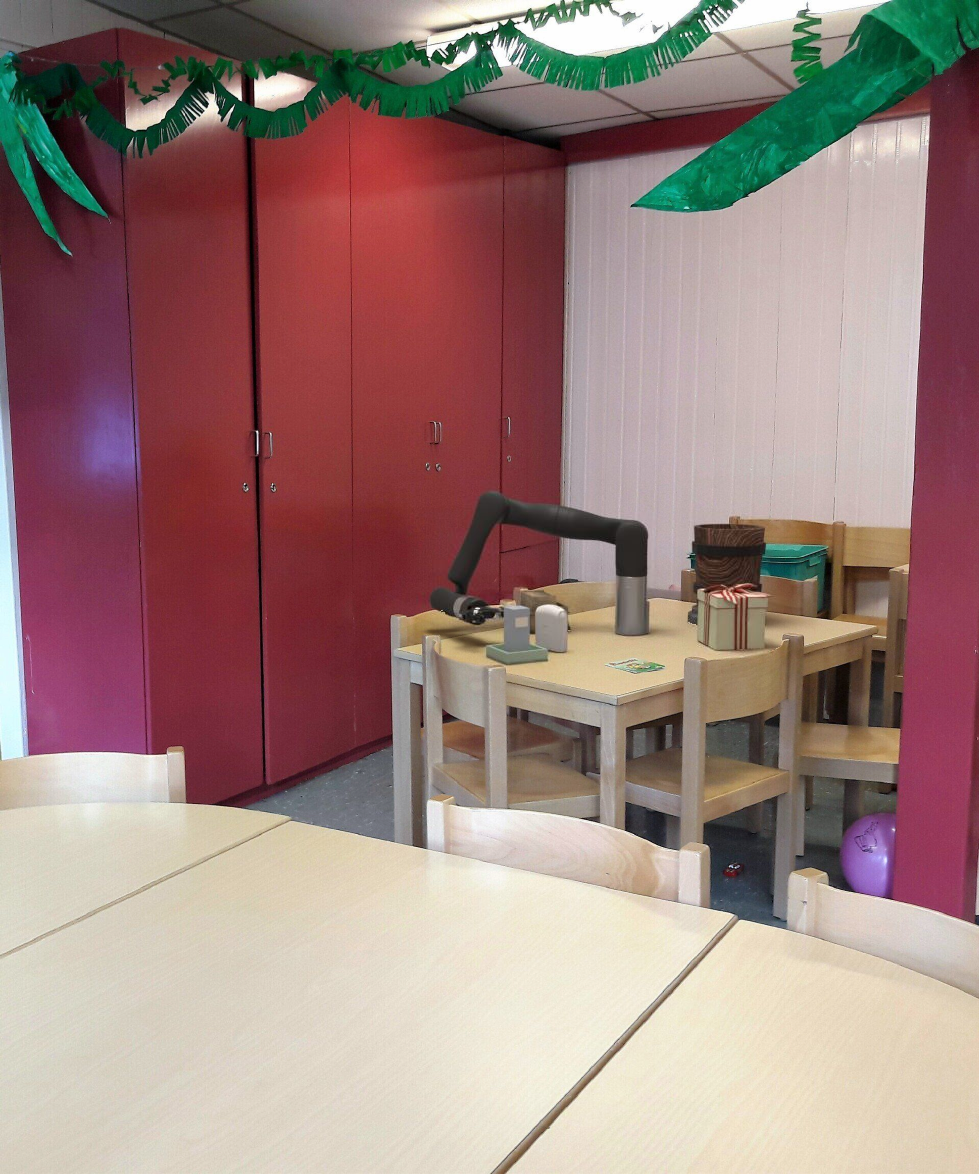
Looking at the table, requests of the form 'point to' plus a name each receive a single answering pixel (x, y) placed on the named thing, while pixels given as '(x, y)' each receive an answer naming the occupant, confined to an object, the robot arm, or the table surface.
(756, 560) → the wooden barrel
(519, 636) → the box
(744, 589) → the gift box
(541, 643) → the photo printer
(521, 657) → the tray
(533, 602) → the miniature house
